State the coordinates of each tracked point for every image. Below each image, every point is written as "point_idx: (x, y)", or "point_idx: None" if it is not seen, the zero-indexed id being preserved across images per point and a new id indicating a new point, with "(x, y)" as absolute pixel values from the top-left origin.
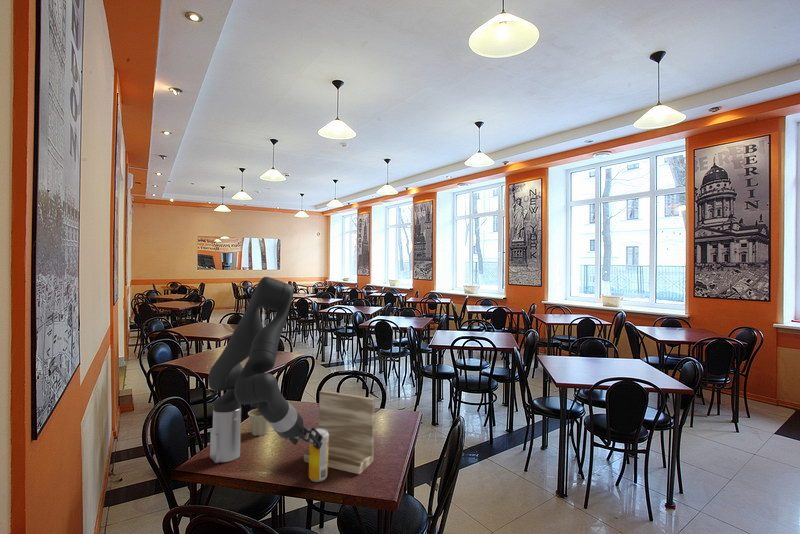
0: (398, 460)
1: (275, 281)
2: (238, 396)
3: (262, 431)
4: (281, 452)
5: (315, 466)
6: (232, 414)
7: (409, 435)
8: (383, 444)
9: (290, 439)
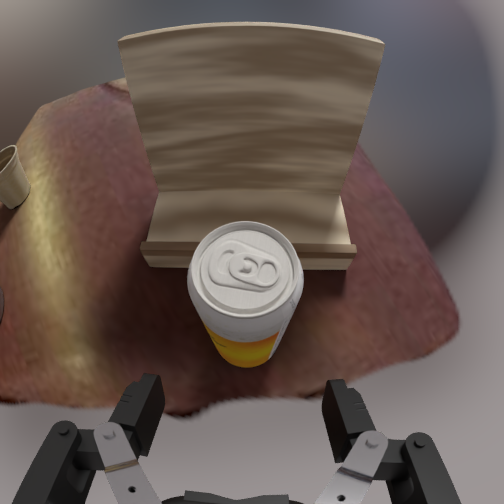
0: (377, 181)
1: None
2: None
3: (19, 196)
4: (75, 247)
5: (256, 358)
6: None
7: None
8: None
9: (142, 454)
